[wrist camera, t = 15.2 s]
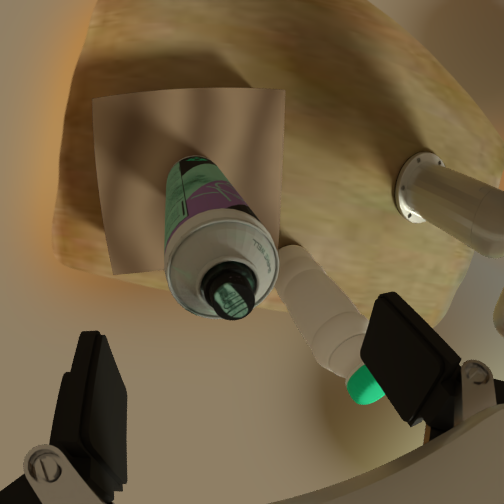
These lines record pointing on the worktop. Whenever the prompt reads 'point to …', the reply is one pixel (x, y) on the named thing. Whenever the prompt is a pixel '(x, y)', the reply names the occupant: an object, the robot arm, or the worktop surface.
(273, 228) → the brown wooden block
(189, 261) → the spray can
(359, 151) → the worktop surface
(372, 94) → the worktop surface
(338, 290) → the water bottle
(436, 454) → the robot arm
